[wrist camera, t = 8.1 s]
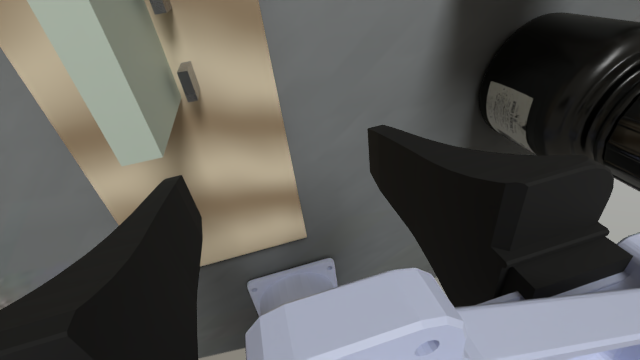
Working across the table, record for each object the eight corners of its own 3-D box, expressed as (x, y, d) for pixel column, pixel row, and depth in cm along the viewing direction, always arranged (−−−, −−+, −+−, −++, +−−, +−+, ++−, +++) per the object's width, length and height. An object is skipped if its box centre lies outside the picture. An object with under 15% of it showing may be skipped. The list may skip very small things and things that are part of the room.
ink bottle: (449, 106, 24) (605, 200, 14) (532, -18, 20) (816, -6, 11) (525, 145, 28) (685, 239, 18) (605, 48, 25) (854, 100, 15)
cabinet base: (304, 228, 27) (306, 237, 26) (156, 269, 25) (154, 279, 24) (229, -131, 14) (230, -137, 13) (-77, -97, 12) (-99, -102, 12)
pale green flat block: (181, 97, 18) (163, 157, 12) (153, 102, 18) (121, 166, 12) (132, -32, 14) (73, -32, 9) (97, -26, 14) (13, -23, 8)
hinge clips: (200, 88, 18) (198, 100, 16) (131, 102, 17) (121, 116, 16) (159, -29, 15) (151, -29, 13) (73, -16, 14) (54, -14, 12)
